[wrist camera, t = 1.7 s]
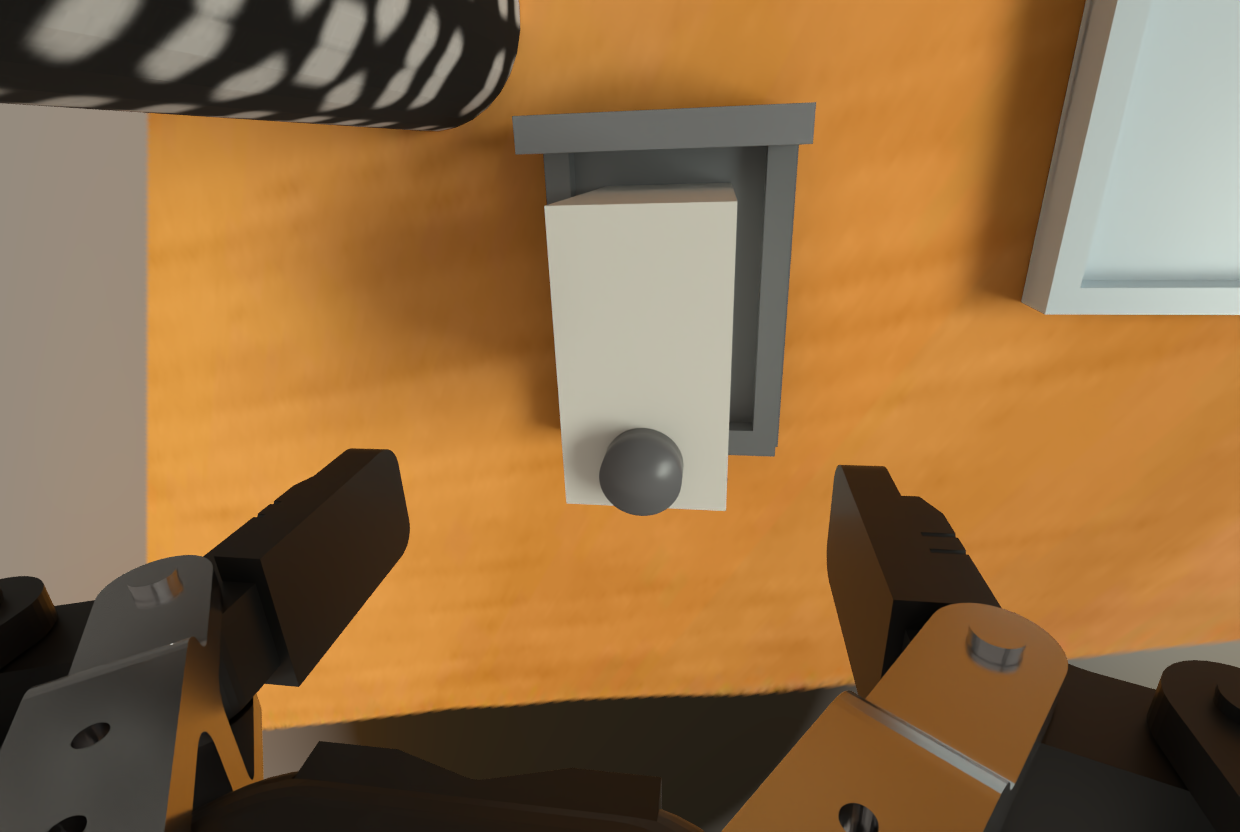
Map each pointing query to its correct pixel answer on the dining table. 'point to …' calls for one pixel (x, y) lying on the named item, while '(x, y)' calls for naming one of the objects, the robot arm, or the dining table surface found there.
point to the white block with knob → (644, 343)
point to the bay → (695, 154)
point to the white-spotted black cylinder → (263, 58)
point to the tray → (1145, 166)
